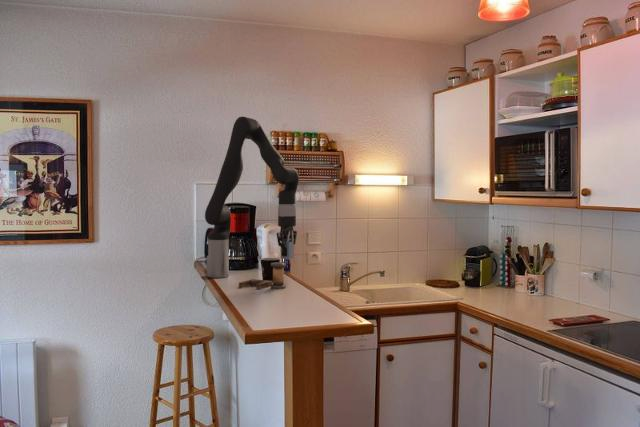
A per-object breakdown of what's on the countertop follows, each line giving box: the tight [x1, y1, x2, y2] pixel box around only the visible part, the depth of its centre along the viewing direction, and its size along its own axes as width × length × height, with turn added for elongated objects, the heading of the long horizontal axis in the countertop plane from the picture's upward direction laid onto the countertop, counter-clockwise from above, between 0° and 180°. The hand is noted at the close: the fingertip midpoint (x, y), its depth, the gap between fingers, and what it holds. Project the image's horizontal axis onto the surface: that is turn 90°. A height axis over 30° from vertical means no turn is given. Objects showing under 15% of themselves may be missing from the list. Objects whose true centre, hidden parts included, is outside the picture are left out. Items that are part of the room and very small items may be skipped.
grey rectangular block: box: [280, 242, 295, 260], centre depth 226 cm, size 4×4×7 cm
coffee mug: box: [260, 257, 281, 284], centre depth 237 cm, size 12×9×10 cm
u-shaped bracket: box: [238, 278, 273, 290], centre depth 222 cm, size 10×10×2 cm
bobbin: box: [270, 261, 287, 290], centre depth 220 cm, size 6×6×10 cm
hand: (287, 255), depth 226 cm, fingers closed on grey rectangular block, 4 cm apart
